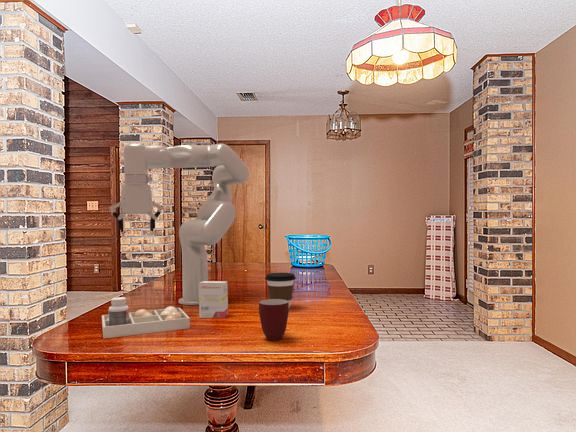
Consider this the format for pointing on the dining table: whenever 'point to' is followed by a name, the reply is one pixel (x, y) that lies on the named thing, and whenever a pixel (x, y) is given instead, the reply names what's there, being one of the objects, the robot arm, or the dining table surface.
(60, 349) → the dining table surface
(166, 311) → the cream egg
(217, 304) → the ink box
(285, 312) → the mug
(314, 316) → the dining table surface
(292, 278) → the coffee cup
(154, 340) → the dining table surface
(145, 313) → the brown egg
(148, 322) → the grey compartment tray
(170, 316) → the brown egg
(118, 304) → the pill bottle
